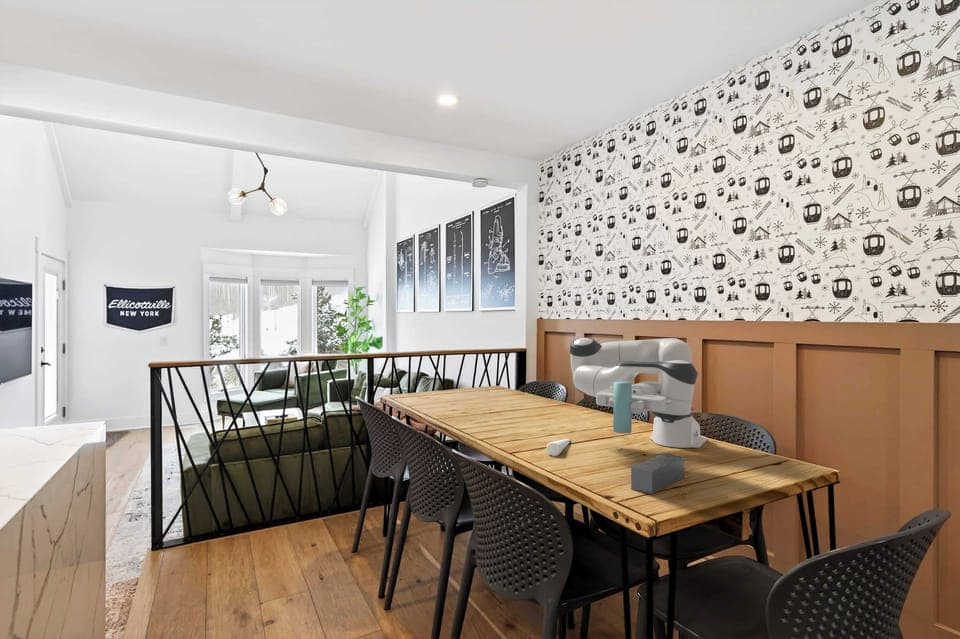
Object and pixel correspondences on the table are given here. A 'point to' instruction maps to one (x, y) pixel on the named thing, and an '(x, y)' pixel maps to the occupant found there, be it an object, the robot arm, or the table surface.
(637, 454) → the table surface
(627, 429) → the teal post
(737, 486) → the table surface
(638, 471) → the gray block
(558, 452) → the unicorn horn
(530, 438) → the table surface
